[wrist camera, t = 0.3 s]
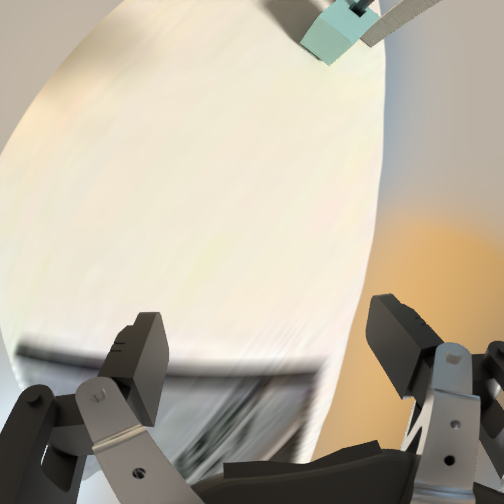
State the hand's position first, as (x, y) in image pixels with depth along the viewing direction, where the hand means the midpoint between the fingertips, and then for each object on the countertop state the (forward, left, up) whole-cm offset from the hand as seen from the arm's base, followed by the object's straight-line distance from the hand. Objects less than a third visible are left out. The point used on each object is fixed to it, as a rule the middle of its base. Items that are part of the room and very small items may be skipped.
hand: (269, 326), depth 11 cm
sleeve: (-22, +16, -26) cm, 38 cm away
